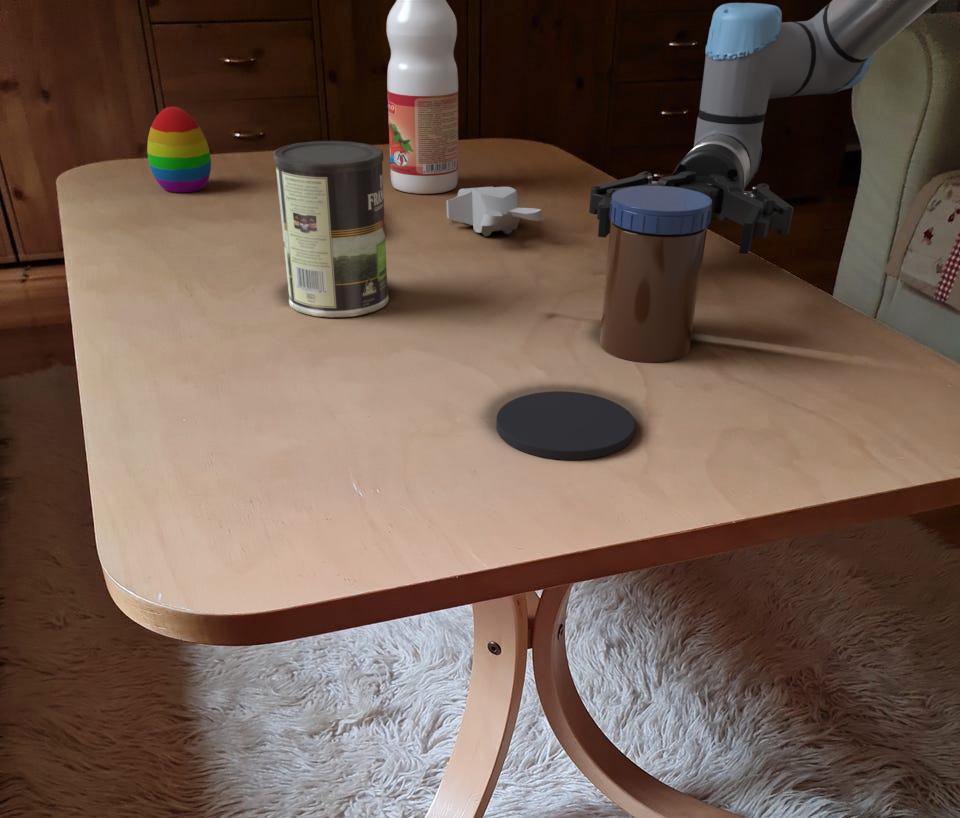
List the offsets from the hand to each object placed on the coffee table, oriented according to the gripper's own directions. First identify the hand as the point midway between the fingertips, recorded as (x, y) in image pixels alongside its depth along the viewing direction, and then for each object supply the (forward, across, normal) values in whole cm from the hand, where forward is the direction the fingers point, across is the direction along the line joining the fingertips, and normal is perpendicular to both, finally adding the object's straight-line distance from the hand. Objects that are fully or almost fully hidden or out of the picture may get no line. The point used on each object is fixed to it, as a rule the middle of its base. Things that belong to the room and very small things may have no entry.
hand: (672, 230), depth 95 cm
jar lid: (+7, 0, +4) cm, 8 cm away
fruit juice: (-40, +42, -9) cm, 59 cm away
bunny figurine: (-23, +26, -9) cm, 36 cm away
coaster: (+27, +2, -9) cm, 29 cm away
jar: (+7, 0, -9) cm, 11 cm away
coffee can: (+7, +32, -9) cm, 34 cm away
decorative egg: (-26, +72, -9) cm, 77 cm away
